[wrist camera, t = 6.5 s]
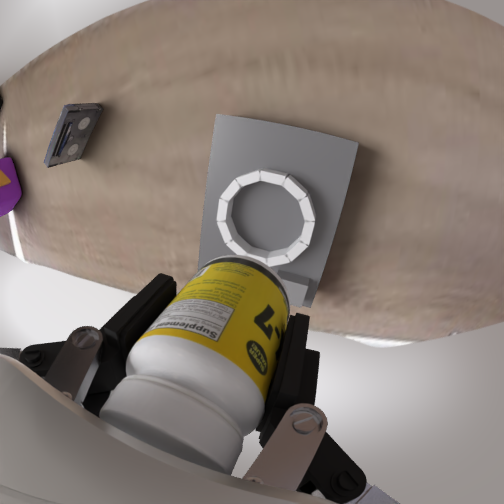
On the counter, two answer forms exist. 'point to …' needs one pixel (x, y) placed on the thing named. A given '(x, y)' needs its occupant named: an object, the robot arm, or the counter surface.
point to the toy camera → (8, 186)
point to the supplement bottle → (205, 364)
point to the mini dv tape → (72, 133)
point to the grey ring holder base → (275, 198)
